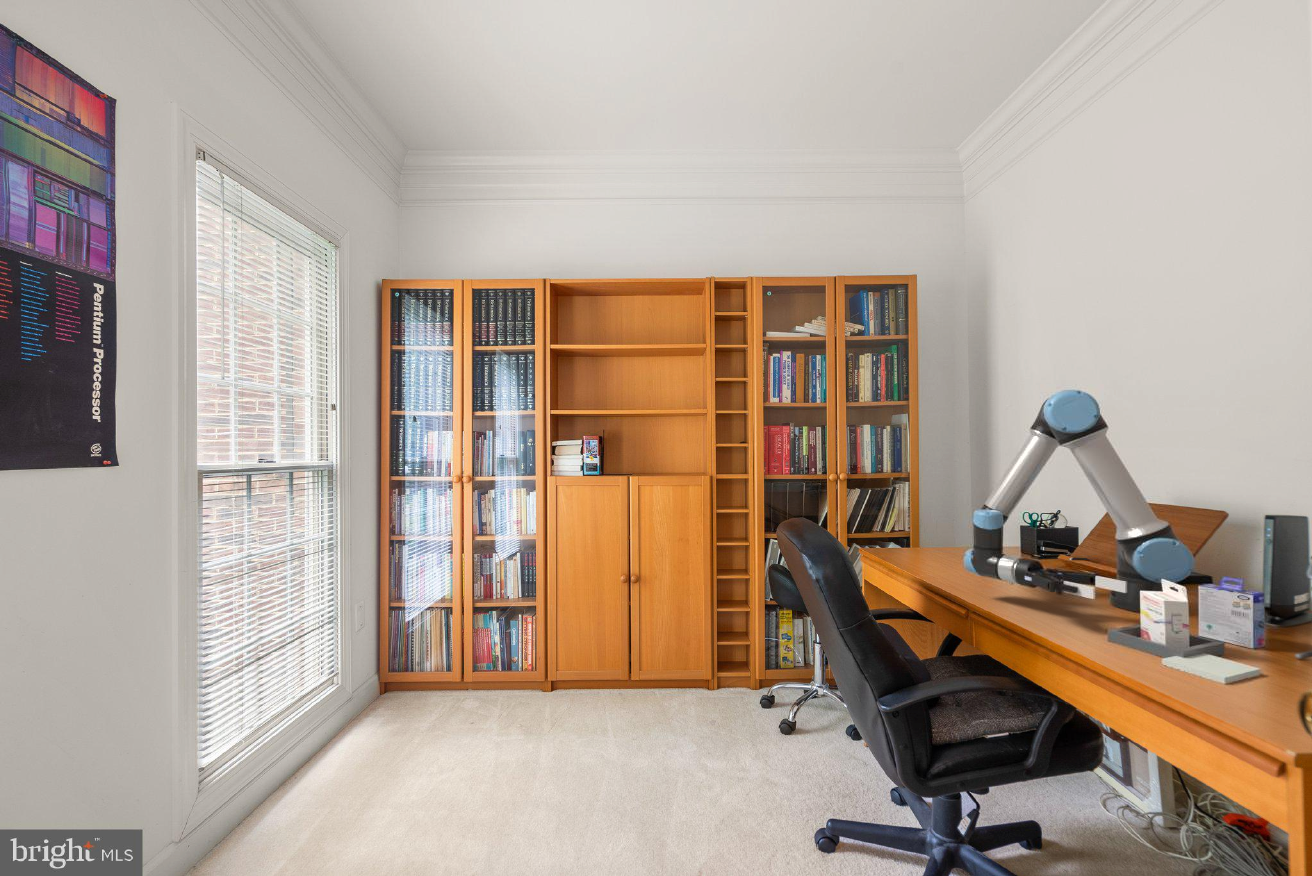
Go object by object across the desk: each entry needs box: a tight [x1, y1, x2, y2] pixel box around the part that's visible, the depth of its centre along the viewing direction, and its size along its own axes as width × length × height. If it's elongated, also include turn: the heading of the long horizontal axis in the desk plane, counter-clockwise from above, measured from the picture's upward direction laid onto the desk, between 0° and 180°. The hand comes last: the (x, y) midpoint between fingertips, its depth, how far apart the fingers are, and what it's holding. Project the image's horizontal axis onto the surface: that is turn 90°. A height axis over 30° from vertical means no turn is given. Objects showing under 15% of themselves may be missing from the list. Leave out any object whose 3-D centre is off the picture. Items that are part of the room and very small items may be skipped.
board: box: [1161, 653, 1262, 685], centre depth 113 cm, size 12×10×1 cm
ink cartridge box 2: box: [1197, 576, 1266, 650], centre depth 129 cm, size 10×6×14 cm, turn 23°
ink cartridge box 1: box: [1139, 579, 1190, 649], centre depth 125 cm, size 9×5×15 cm, turn 168°
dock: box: [1106, 623, 1226, 659], centre depth 125 cm, size 14×14×2 cm
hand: (1110, 590), depth 134 cm, fingers open, 13 cm apart
